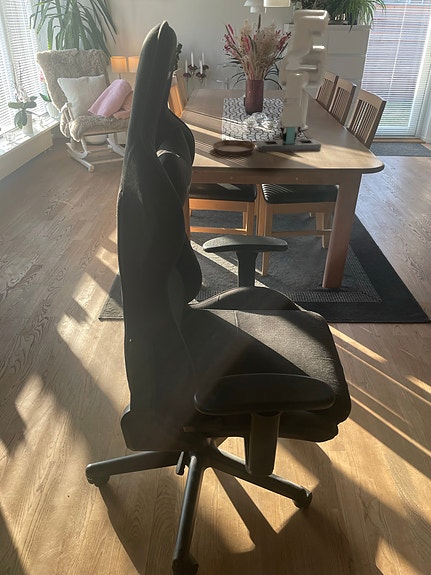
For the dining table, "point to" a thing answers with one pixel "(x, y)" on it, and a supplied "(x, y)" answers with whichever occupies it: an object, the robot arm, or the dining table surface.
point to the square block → (290, 135)
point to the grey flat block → (288, 145)
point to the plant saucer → (233, 147)
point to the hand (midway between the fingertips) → (288, 140)
